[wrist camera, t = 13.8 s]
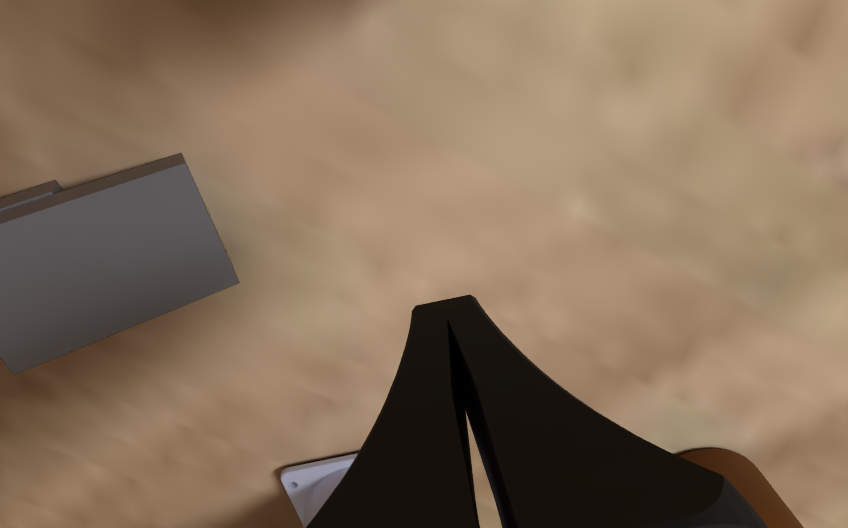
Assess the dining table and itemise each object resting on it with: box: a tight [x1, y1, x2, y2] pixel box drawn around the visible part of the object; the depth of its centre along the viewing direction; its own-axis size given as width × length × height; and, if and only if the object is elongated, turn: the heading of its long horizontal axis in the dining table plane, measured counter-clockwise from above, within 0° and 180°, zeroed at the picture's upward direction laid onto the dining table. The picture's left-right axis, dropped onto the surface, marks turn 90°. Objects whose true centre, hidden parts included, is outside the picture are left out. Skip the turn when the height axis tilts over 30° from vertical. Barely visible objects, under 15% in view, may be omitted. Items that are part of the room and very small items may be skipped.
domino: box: [0, 153, 239, 374], centre depth 19 cm, size 5×2×8 cm
